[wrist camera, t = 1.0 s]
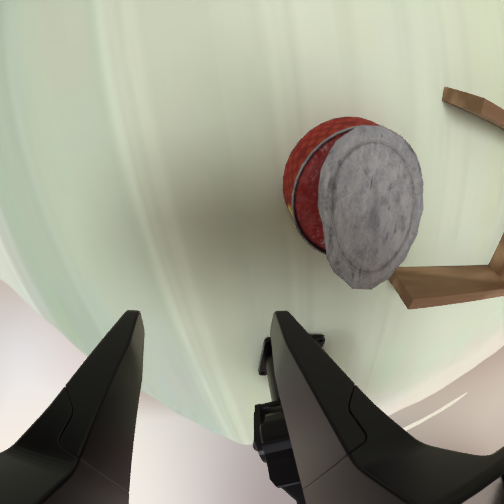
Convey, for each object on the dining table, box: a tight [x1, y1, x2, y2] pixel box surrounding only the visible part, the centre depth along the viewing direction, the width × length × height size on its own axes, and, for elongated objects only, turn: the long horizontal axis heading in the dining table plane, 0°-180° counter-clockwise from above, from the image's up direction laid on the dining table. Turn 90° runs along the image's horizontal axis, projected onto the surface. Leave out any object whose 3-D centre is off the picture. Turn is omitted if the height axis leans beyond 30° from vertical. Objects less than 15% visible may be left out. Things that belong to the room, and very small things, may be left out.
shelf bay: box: [389, 87, 504, 309], centre depth 22 cm, size 18×18×4 cm
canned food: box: [283, 117, 423, 289], centre depth 19 cm, size 11×10×10 cm
